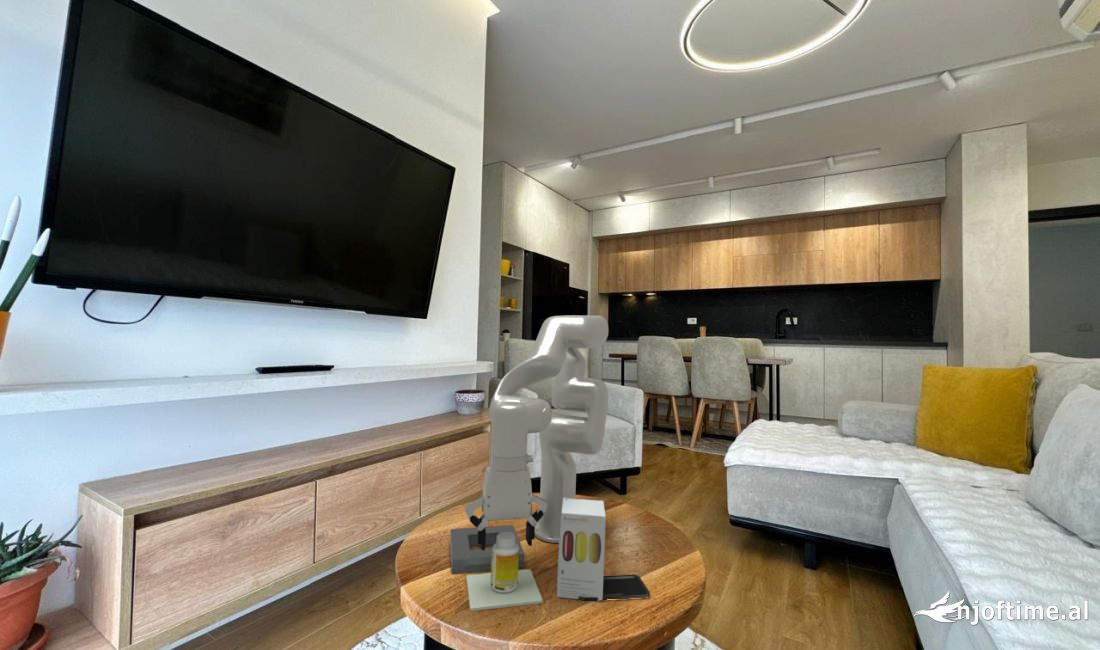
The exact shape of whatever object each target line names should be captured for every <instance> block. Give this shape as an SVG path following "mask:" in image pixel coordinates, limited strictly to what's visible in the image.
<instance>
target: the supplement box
mask: <svg viewBox="0 0 1100 650" xmlns="http://www.w3.org/2000/svg"><path fill="white" fill-rule="evenodd" d="M606 520H607V517H606V511H605V502H604V500H602V499H601V500H595V499H593V500H592V499H583V498H575V499H570V498H563V504H562V512H561V522H560V536H559V543H558V556H557V558H558V559H557V575H556V577H557V578H556V579H557V580H556V597H557V598H562V599H563V598H565V599H574V600H578V598H579V596H581V597H597V598H598V600H602V599H603V576H605V575H604V573H605V572H604V571H605V548H606V545H605V544H606V525H607V524H606V523H607V521H606Z"/></svg>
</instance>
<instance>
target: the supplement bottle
mask: <svg viewBox="0 0 1100 650" xmlns="http://www.w3.org/2000/svg"><path fill="white" fill-rule="evenodd" d="M515 542H516V536H515V534H513V533H511V532H502V533H499V534H498V535H497V538H496V543H495V544H494V545H492V547H491V548H492V563H491V570H490V573H491V587H492V589H493V590H495V591H496V592H500V593H507V592H511V591H513V590H514V589H515V588H516V587H517V584H518V570H519V568H518V561H519V546H518V544H517V543H515Z"/></svg>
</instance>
